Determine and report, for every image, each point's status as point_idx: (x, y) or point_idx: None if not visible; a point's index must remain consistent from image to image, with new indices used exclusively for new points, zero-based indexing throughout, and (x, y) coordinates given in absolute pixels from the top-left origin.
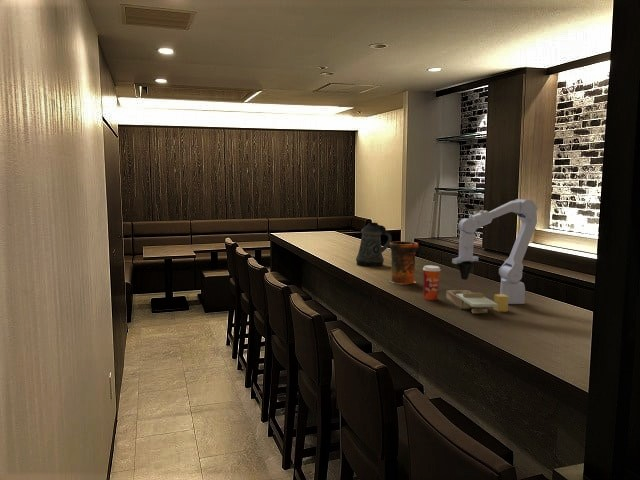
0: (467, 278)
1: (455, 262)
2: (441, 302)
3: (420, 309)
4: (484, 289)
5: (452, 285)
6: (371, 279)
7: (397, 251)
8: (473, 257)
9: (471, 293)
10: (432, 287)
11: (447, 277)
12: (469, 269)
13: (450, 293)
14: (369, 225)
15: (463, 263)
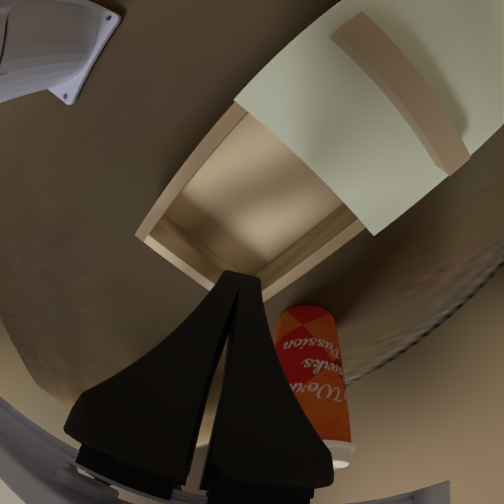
0: (227, 275)
1: (446, 495)
2: (348, 269)
3: (493, 275)
4: (14, 237)
5: (69, 322)
6: (210, 431)
7: (178, 485)
8: (10, 465)
9: (441, 106)
10: (337, 361)
11: (42, 343)
12: (194, 363)
13: (294, 279)
14: (110, 484)
15: (309, 497)
